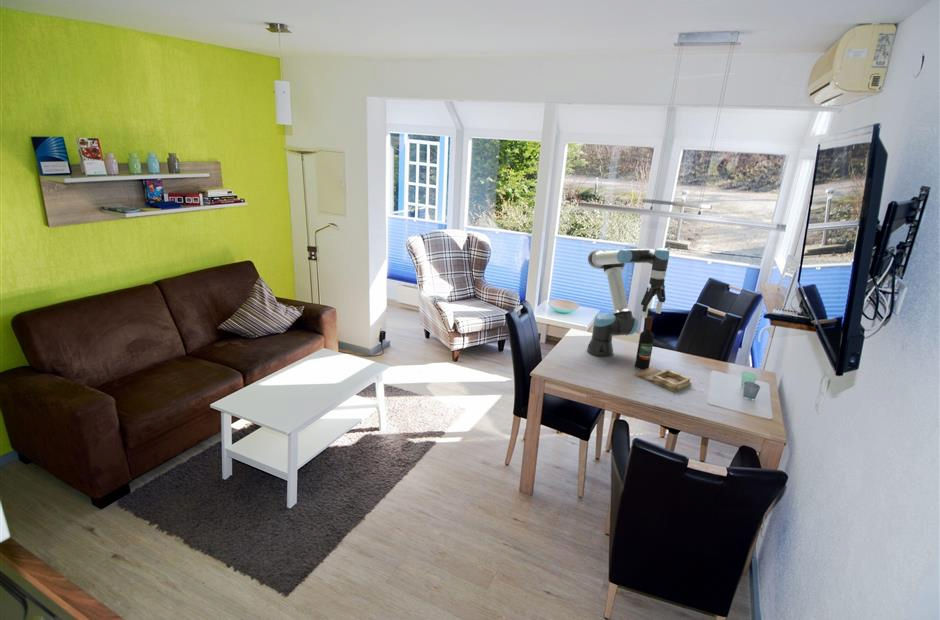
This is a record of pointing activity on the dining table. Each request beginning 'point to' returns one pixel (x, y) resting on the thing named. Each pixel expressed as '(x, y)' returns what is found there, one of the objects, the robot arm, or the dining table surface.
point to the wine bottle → (645, 346)
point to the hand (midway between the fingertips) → (651, 315)
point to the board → (664, 378)
